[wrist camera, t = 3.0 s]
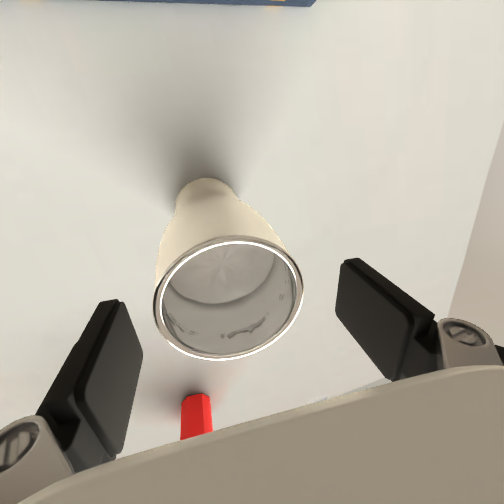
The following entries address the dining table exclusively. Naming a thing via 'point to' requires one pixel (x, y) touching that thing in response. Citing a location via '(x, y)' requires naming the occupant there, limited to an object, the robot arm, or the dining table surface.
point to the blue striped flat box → (237, 2)
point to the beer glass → (222, 276)
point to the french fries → (195, 416)
